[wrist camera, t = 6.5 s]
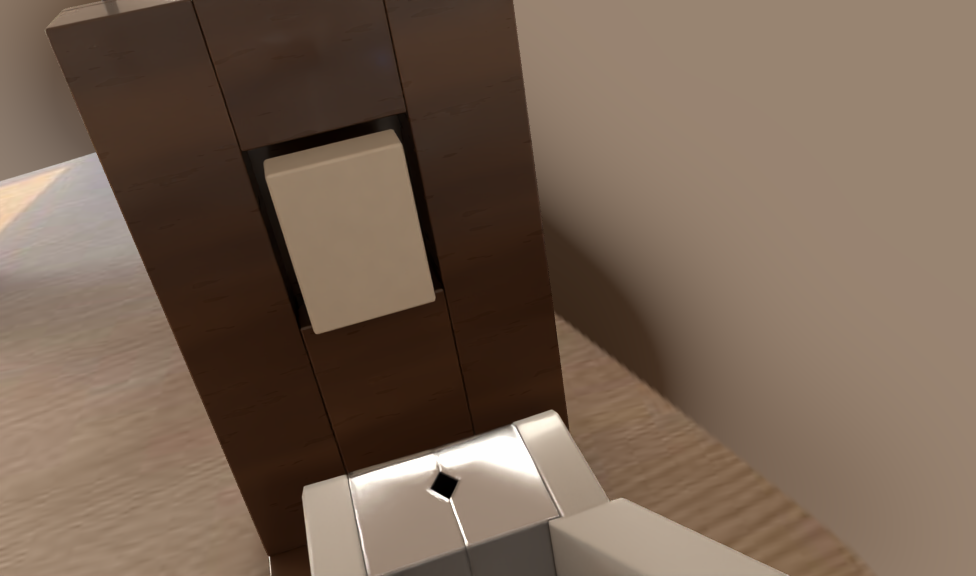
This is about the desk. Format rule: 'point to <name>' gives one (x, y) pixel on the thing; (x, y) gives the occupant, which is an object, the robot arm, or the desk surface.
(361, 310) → the switch
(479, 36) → the panel
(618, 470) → the desk surface
